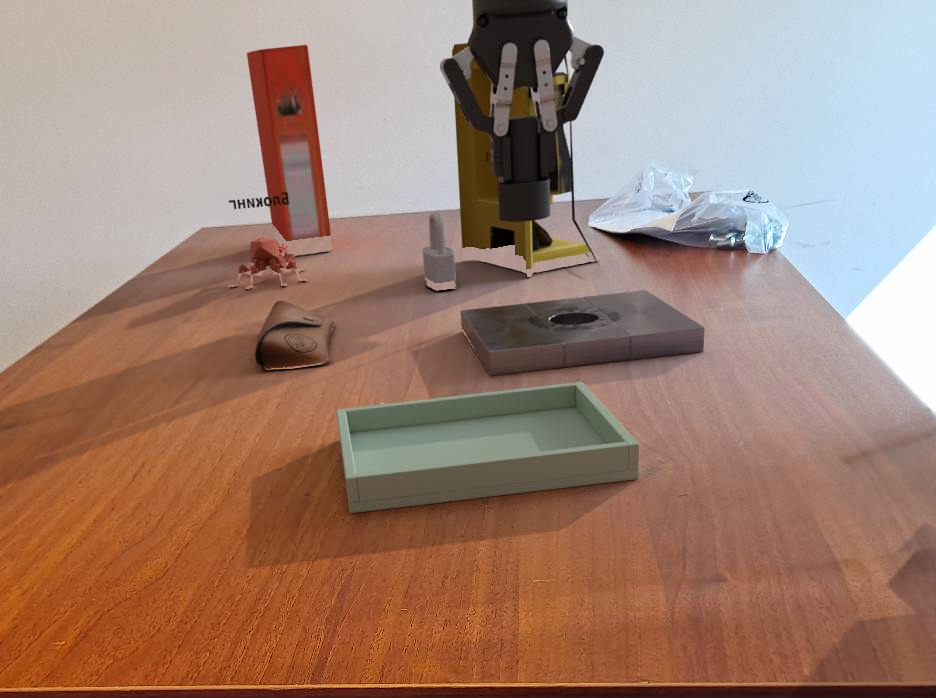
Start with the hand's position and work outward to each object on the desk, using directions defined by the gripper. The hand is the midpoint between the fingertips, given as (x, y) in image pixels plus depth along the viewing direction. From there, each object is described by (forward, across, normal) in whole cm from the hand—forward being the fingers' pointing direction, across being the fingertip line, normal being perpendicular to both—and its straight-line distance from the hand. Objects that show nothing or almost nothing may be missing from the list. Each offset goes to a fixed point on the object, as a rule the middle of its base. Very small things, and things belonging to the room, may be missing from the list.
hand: (524, 179), depth 83 cm
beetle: (+19, -27, +68) cm, 75 cm away
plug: (+3, 0, 0) cm, 3 cm away
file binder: (+19, -22, +93) cm, 98 cm away
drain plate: (+19, +8, +16) cm, 26 cm away
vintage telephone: (+19, +13, +59) cm, 63 cm away
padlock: (+19, -2, +50) cm, 53 cm away
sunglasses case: (+19, -22, +25) cm, 39 cm away
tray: (+19, -7, -14) cm, 25 cm away
